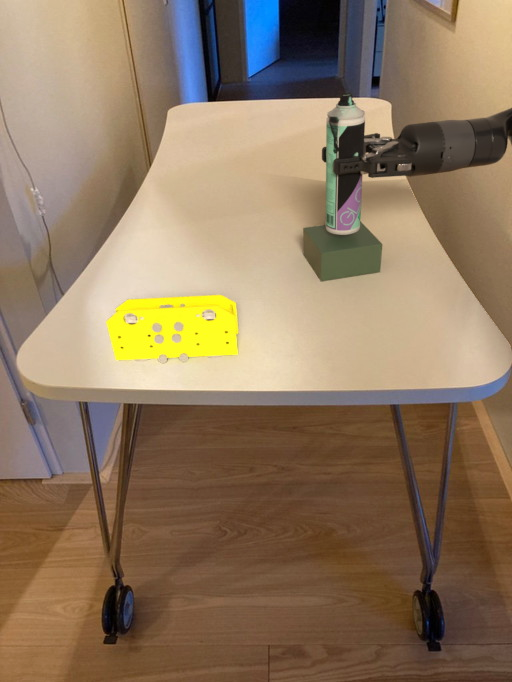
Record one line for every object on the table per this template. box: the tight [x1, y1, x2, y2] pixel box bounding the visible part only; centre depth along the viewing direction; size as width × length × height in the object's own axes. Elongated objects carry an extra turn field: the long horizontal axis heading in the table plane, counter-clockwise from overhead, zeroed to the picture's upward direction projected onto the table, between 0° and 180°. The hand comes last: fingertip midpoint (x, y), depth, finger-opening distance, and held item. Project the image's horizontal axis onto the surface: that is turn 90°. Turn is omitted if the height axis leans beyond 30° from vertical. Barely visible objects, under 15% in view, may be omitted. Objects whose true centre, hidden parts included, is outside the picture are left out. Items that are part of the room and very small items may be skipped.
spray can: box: [325, 93, 366, 235], centre depth 82 cm, size 6×6×20 cm
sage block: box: [302, 220, 383, 282], centre depth 90 cm, size 10×10×5 cm
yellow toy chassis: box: [105, 294, 240, 364], centre depth 71 cm, size 16×6×8 cm, turn 90°
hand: (328, 160), depth 82 cm, fingers closed on spray can, 5 cm apart
